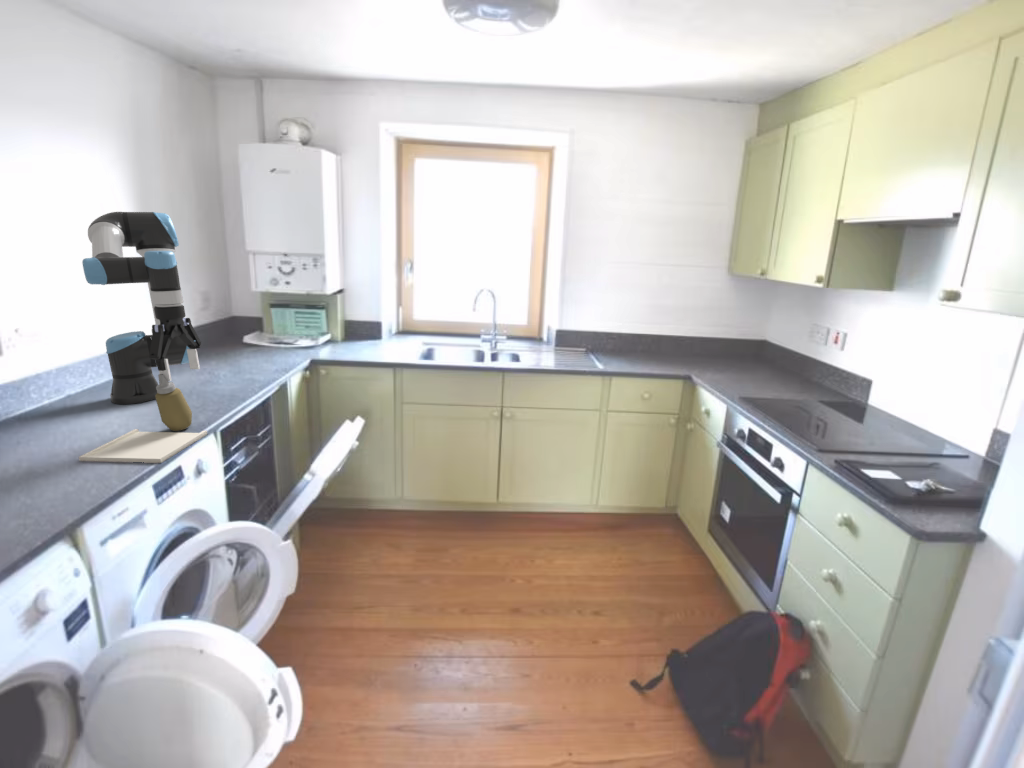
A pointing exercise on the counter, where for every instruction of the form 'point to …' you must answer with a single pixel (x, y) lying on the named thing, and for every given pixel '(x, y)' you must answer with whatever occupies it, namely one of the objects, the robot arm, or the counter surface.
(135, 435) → the tray
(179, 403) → the squeeze bottle
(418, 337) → the counter surface
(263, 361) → the counter surface
